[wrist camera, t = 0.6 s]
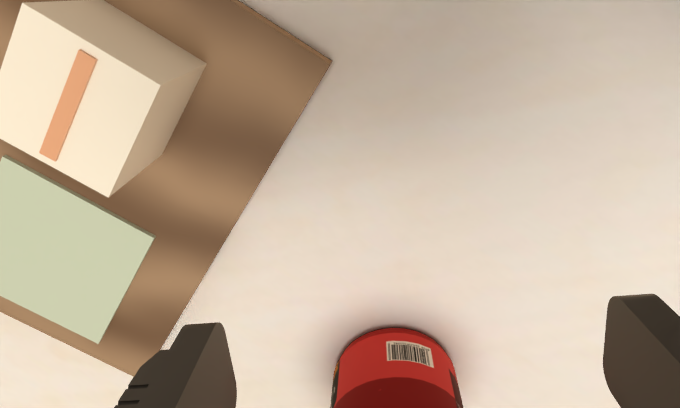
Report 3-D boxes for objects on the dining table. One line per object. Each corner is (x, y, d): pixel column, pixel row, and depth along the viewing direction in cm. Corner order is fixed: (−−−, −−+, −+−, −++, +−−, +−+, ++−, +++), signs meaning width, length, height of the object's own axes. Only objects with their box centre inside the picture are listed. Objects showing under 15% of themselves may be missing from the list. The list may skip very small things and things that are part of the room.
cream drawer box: (102, -1, 24) (19, 3, 18) (206, 63, 25) (159, 86, 19) (63, 98, 26) (-22, 129, 20) (161, 154, 27) (106, 199, 21)
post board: (38, -129, 23) (-64, -165, 18) (332, 61, 26) (322, 80, 20) (-79, 251, 32) (-172, 306, 27) (150, 364, 35) (109, 435, 29)
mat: (5, 154, 27) (2, 156, 27) (156, 235, 29) (154, 238, 29) (-37, 273, 31) (-41, 276, 30) (100, 341, 32) (98, 343, 32)
